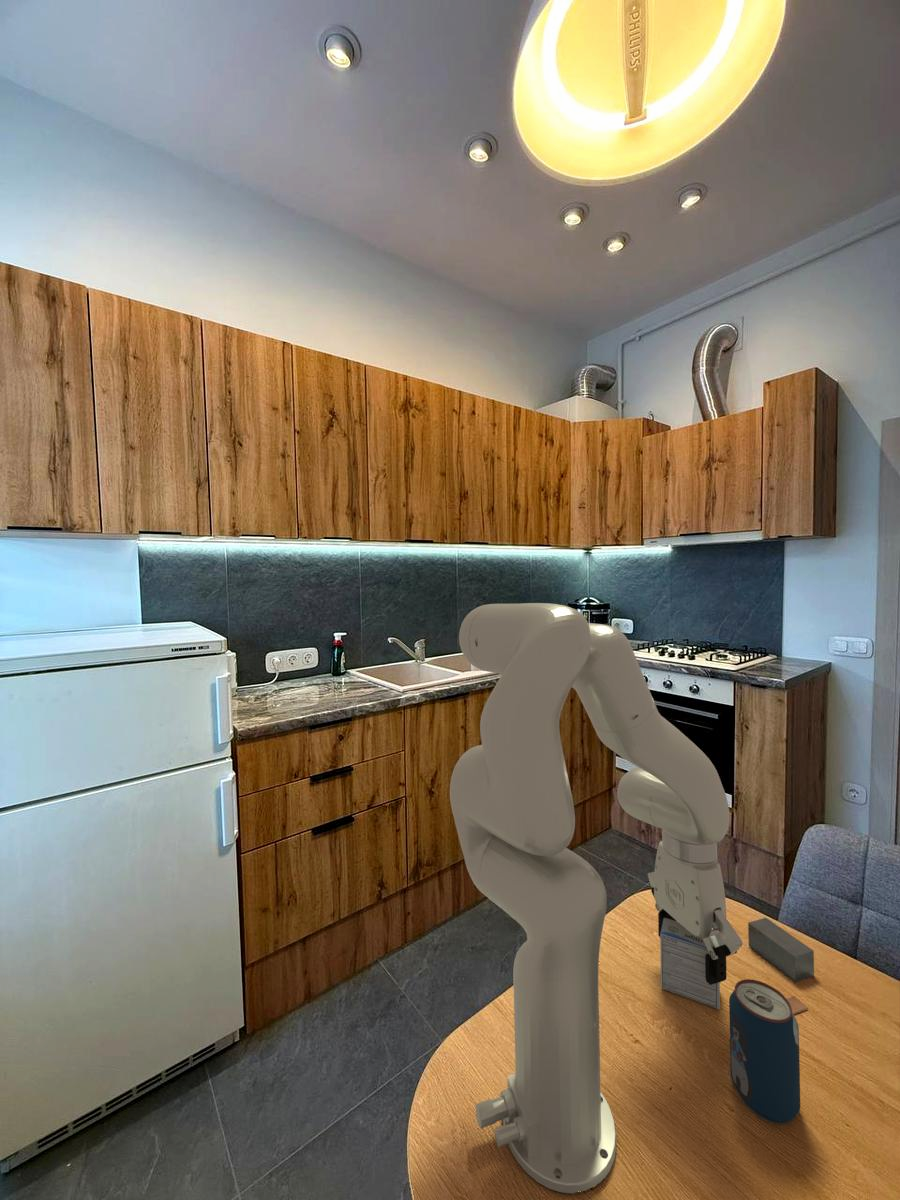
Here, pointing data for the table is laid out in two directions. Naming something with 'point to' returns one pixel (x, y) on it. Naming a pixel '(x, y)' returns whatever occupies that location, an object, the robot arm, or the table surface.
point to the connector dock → (782, 953)
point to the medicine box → (686, 964)
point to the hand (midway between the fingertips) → (690, 957)
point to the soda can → (764, 1051)
